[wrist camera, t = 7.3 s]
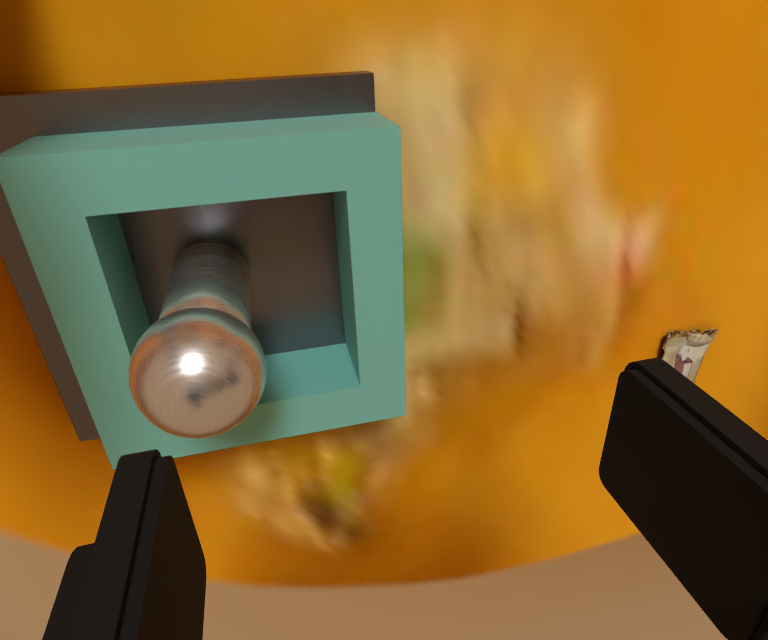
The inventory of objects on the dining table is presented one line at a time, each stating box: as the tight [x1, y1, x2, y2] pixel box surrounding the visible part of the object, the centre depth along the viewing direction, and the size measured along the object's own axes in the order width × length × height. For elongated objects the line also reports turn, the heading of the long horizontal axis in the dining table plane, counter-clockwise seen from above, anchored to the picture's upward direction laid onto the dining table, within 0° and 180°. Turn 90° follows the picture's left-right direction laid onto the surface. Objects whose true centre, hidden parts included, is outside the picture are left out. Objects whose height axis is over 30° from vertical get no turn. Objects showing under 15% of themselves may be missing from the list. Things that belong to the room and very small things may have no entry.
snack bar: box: [661, 329, 718, 383], centre depth 28 cm, size 10×2×3 cm
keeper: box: [0, 71, 375, 441], centre depth 15 cm, size 12×12×9 cm
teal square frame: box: [0, 112, 406, 469], centre depth 17 cm, size 10×10×3 cm
